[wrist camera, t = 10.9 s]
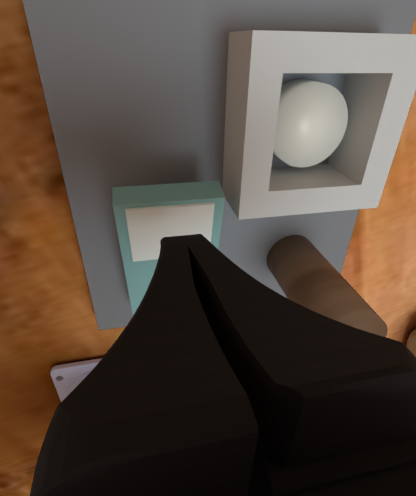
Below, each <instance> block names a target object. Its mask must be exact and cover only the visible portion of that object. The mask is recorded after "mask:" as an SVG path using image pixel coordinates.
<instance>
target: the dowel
mask: <svg viewBox="0 0 416 496" xmlns="http://www.w3.org/2000/svg"><path fill="white" fill-rule="evenodd" d="M267 266H268V268H269V270H270V271H271V273H272V274H273V276H274V278H275V279H276V281H277V282H278V284H279V286H280V287H281V289H282V290H283V292H284V293H285V295H286V297H287V298H288V299H290V300H291V301H293V302H295V303H298V304H300V305H302V306H304V307H306V308H308V309H310V310H312V311H314V312H317V313H319V314H321V315H324V316H326V317H328V318H331V319H333V320H336V321H339V322H341V323H344V324H346V325H349V326H352V327H354V328H357V329H360V330H364V331H367V332H370V333H373V334H376V335H380V336H383V337H386V335H387V325H386V324H385V322H384V321H383V320H382V319H381V318H380V317H379V316H378V315H377V313H376V312H375V311H374V310H373V309H372V308H371V307H370V306H369V305H368V304H367V303H366V302H365V300H364V299H363V298H362V297H361V296H360V295H359V294H358V293H357V292H356V291H355V290H354V289H353V287H352V286H351V285H350V284H349V283H348V282H347V281H346V280H345V279H344V278H343V277H342V276H341V274H340V273H339V272H338V271H337V270H336V269H335V268H334V267H333V266H332V265H331V264H330V263H329V261H328V260H327V259H326V258H325V257H324V256H323V255H322V254H321V253H320V252H319V251H318V249H317V248H316V247H315V246H314V245H313V244H312V243H311V242H310V241H309V240H308V239H307V238H306V237H304V236H301V235H291V236H287V237H284V238H282V239H281V240H279V241H278V242H276V243H275V244H274V245H273V246H272V248H271V249H270V251H269V253H268V256H267Z"/></svg>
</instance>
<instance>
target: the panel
mask: <svg viewBox="0 0 416 496" xmlns="http://www.w3.org/2000/svg"><path fill="white" fill-rule="evenodd" d="M22 1H23V5H24V9H25V14H26V18H27V22H28V27H29V31H30V35H31V40H32V44H33V48H34V53H35V57H36V61H37V65H38V70H39V74H40V78H41V83H42V87H43V91H44V96H45V100H46V104H47V109H48V113H49V117H50V122H51V126H52V130H53V134H54V139H55V143H56V147H57V152H58V156H59V160H60V165H61V169H62V173H63V178H64V182H65V186H66V191H67V195H68V199H69V203H70V208H71V212H72V216H73V221H74V225H75V229H76V234H77V238H78V242H79V247H80V251H81V255H82V260H83V264H84V268H85V273H86V277H87V281H88V285H89V290H90V294H91V298H92V303H93V307H94V311H95V316H96V320H97V324H98V329H99V330H105V329H112V328H119V327H126V326H127V324H128V323H129V321H130V320H131V318H132V317H133V314H132V308H131V303H130V297H129V292H128V287H127V281H126V276H125V270H124V265H123V259H122V254H121V249H120V243H119V238H118V232H117V227H116V221H115V216H114V211H113V194H112V187H125V186H141V185H157V184H173V183H189V182H204V181H219V183H220V186H221V188H222V191H223V194H224V196H225V201H224V209H223V216H222V224H221V232H220V240H219V247H218V250H219V251H220V252H222V253H223V254H224V255H225V256H226V257H227V258H228V259H230V260H231V261H232V262H233V263H235V264H236V265H237V266H238V267H240V268H241V269H242V270H243V271H245V272H246V273H248V274H249V275H250V276H252V277H253V278H255V279H256V280H258V281H259V282H261V283H262V284H264V285H265V286H267V287H269V288H270V289H272V290H274V291H275V292H277V293H279V294H280V295H282V296H284V297H286V295H285V293H284V292H283V290H282V289H281V287H280V286H279V284H278V282H277V281H276V279H275V278H274V276H273V274H272V273H271V271H270V270H269V268H268V266H267V256H268V253H269V251H270V249H271V248H272V246H273V245H274V244H275V243H276V242H278V241H279V240H281V239H282V238H284V237H287V236H291V235H301V236H304V237H306V238H307V239H308V240H309V241H310V242H311V243H312V244H313V245H314V246H315V247H316V248H317V249H318V251H319V252H320V253H321V254H322V255H323V256H324V257H325V258H326V259H327V260H328V261H329V263H330V264H331V265H332V266H333V267H334V268H335V269H336V270H337V271H338V272H339V273H341V270H342V266H343V263H344V260H345V256H346V253H347V249H348V246H349V243H350V239H351V236H352V232H353V229H354V225H355V222H356V219H357V215H358V212H359V209H367V208H377V207H378V204H379V201H380V198H381V195H382V192H383V189H384V186H385V183H386V179H387V176H388V173H389V170H390V167H391V164H392V161H393V158H394V155H395V152H396V149H397V146H398V142H399V139H400V136H401V133H402V130H403V127H404V124H405V121H406V118H407V115H408V112H409V109H410V105H411V102H412V99H413V96H414V93H415V90H416V34H411V30H412V27H413V24H414V20H415V17H416V0H22ZM296 79H308V80H312V81H317V82H321V83H326V84H329V85H331V86H333V87H335V88H336V89H337V90H338V91H339V92H340V93H341V94H342V95H343V97H344V99H345V101H346V104H347V109H348V122H347V127H346V131H345V134H344V136H343V138H342V140H341V142H340V144H339V145H338V147H337V148H336V149H335V150H334V152H333V153H332V154H331V155H330V156H328V157H327V158H326V159H325V160H323V161H322V162H320V163H318V164H316V165H313V166H310V167H303V168H301V167H293V166H290V165H288V164H286V163H285V162H283V161H282V160H281V159H280V158H278V157H277V156H276V155H274V154H273V150H274V142H275V134H276V126H277V118H278V110H279V102H280V94H281V86H282V85H284V84H285V83H287V82H290V81H292V80H296ZM286 298H287V297H286Z"/></svg>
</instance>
